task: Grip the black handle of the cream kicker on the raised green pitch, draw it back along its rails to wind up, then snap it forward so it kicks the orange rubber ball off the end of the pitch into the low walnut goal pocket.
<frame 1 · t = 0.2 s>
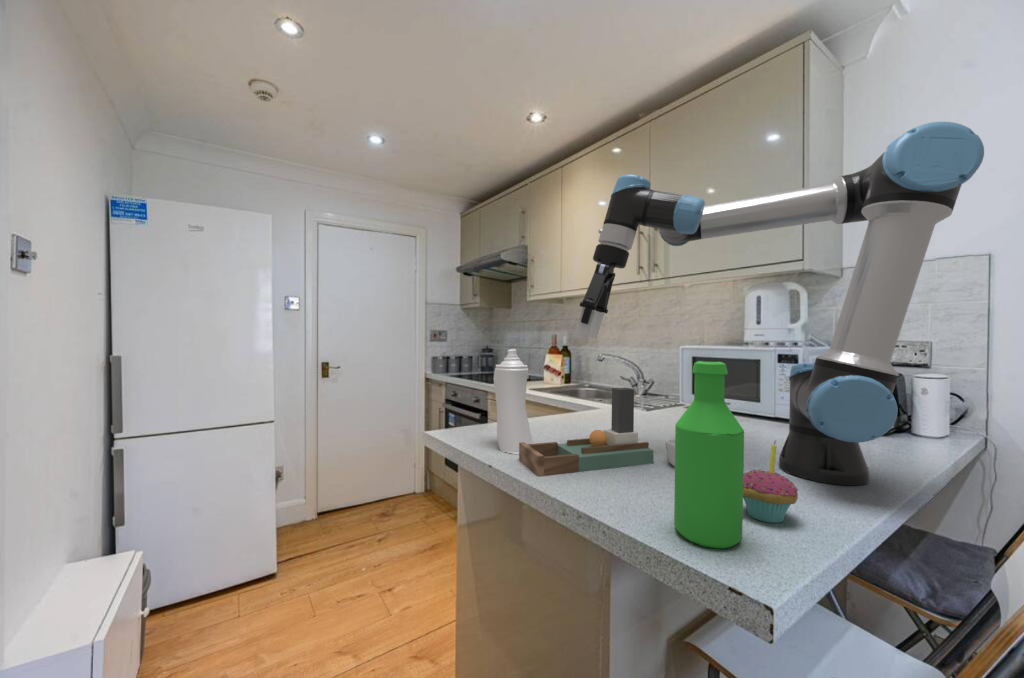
hand: (585, 337, 95), 28 cm above the countertop, tool tilted 15°, fingers open, 13 cm apart
ball: (598, 438, 94), point 5 cm above the countertop, touching pitch
pitch: (603, 459, 94), on the countertop
teacup: (689, 468, 90), on the countertop
goal: (550, 465, 90), on the countertop
kicker: (620, 416, 96), point 10 cm above the countertop, slide at 2.0 cm
bottle: (707, 537, 59), on the countertop
cupcake: (766, 518, 65), on the countertop
rails: (607, 459, 95), resting on pitch
spray can: (512, 448, 104), on the countertop
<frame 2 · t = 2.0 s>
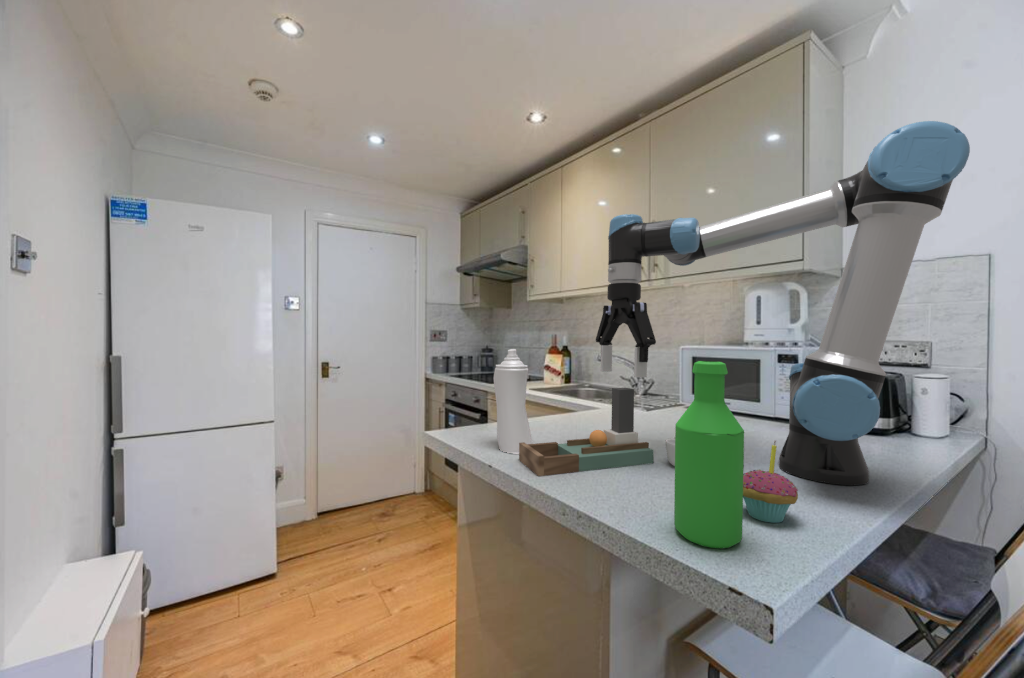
hand: (622, 374, 96), 20 cm above the countertop, tool pointing down, fingers open, 13 cm apart
nothing on the countertop moved.
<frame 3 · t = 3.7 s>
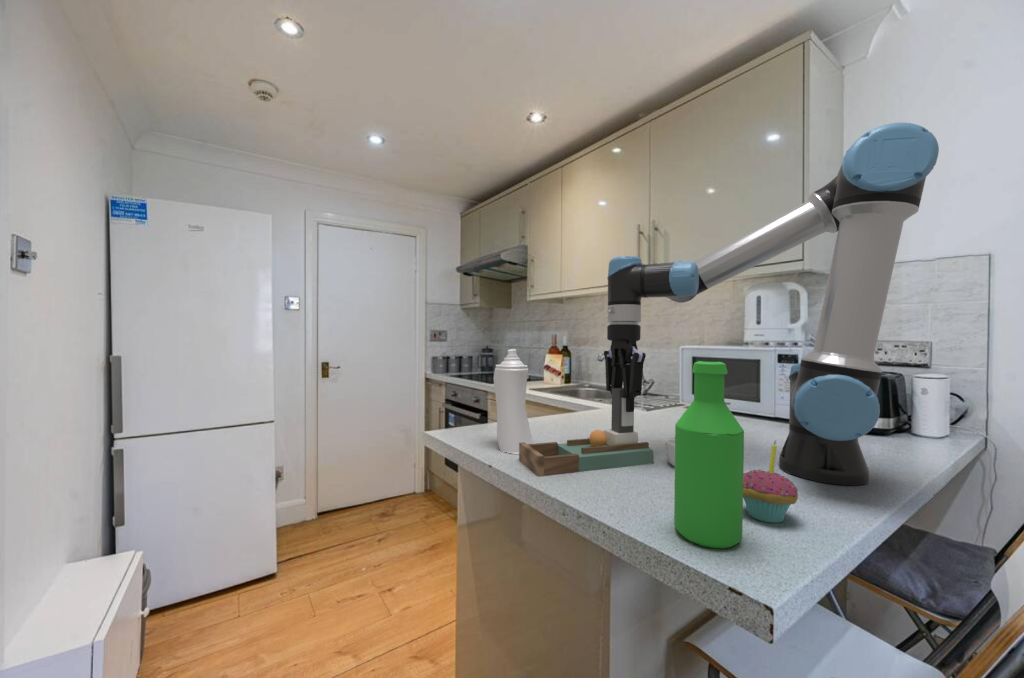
hand: (622, 423, 96), 8 cm above the countertop, tool pointing down, fingers closed on kicker, 3 cm apart
kicker: (620, 416, 96), point 10 cm above the countertop, slide at 2.0 cm, touching gripper
everything else where it was.
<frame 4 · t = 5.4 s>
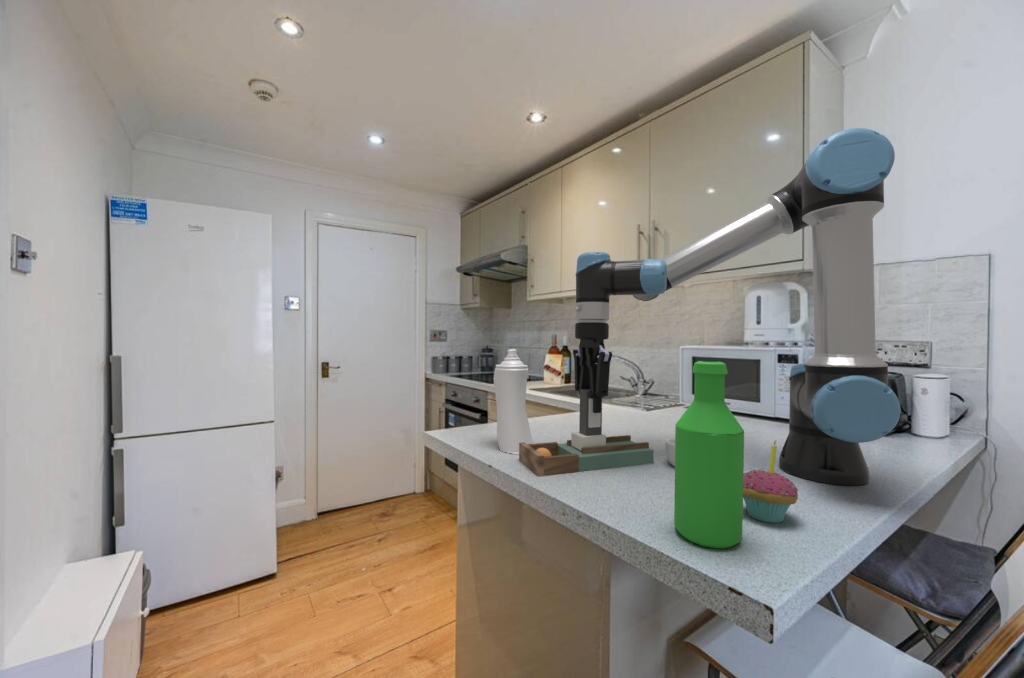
hand: (590, 424, 93), 8 cm above the countertop, tool pointing down, fingers closed on kicker, 3 cm apart
ball: (542, 457, 89), point 2 cm above the countertop, tilted 12°
kicker: (588, 418, 93), point 10 cm above the countertop, slide at 10.5 cm, touching gripper
everything else where it was.
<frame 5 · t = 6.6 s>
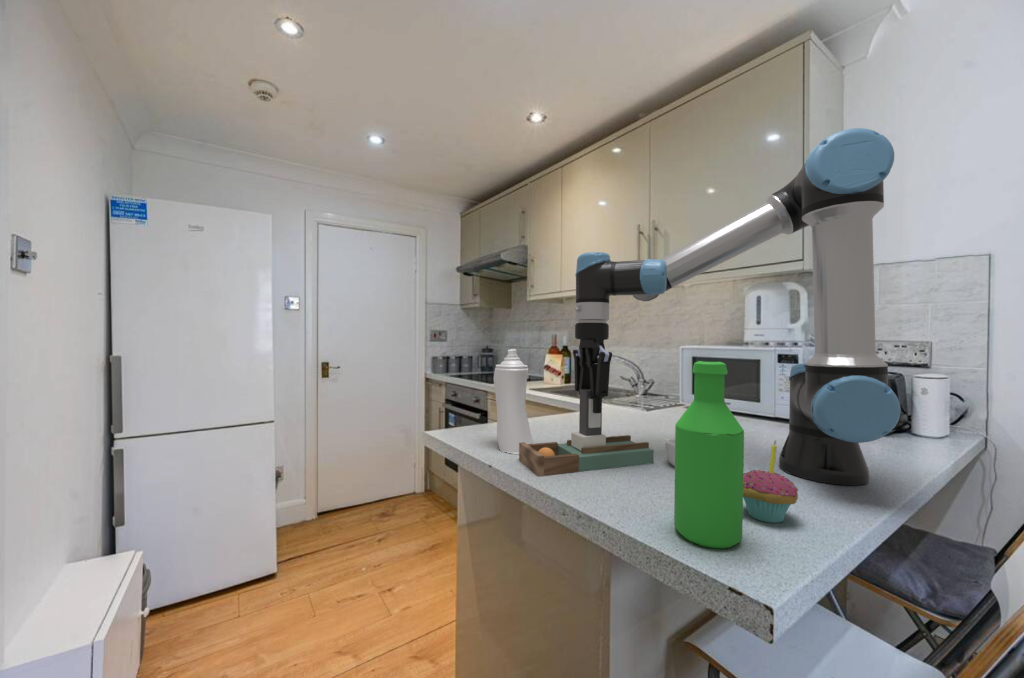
hand: (590, 425, 93), 8 cm above the countertop, tool pointing down, fingers open, 3 cm apart
kicker: (588, 418, 93), point 10 cm above the countertop, slide at 10.6 cm
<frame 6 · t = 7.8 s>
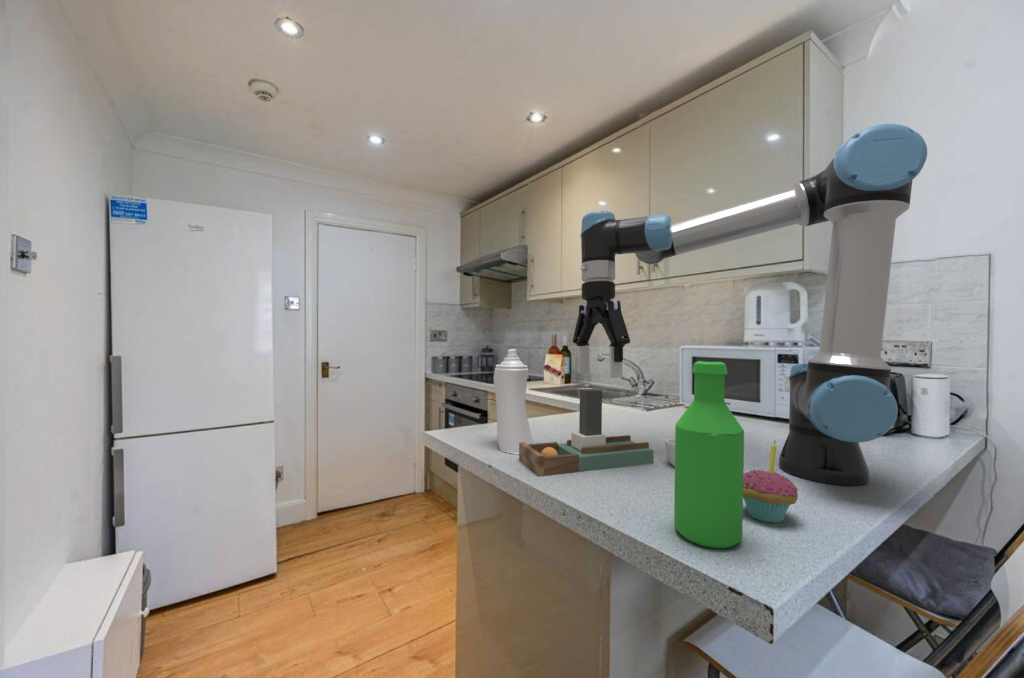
hand: (598, 375, 93), 20 cm above the countertop, tool pointing down, fingers open, 13 cm apart
ball: (549, 456, 90), point 2 cm above the countertop, tilted 35°
everything else where it was.
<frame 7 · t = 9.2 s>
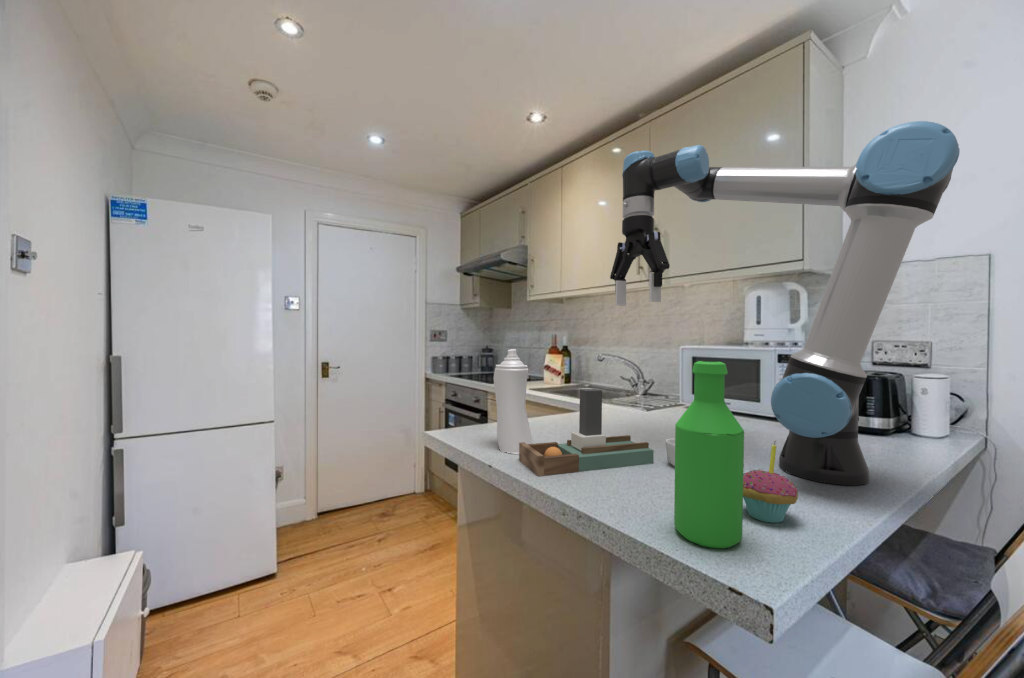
hand: (636, 303, 102), 37 cm above the countertop, tool pointing down, fingers open, 13 cm apart
ball: (553, 456, 90), point 2 cm above the countertop, tilted 63°
everything else where it was.
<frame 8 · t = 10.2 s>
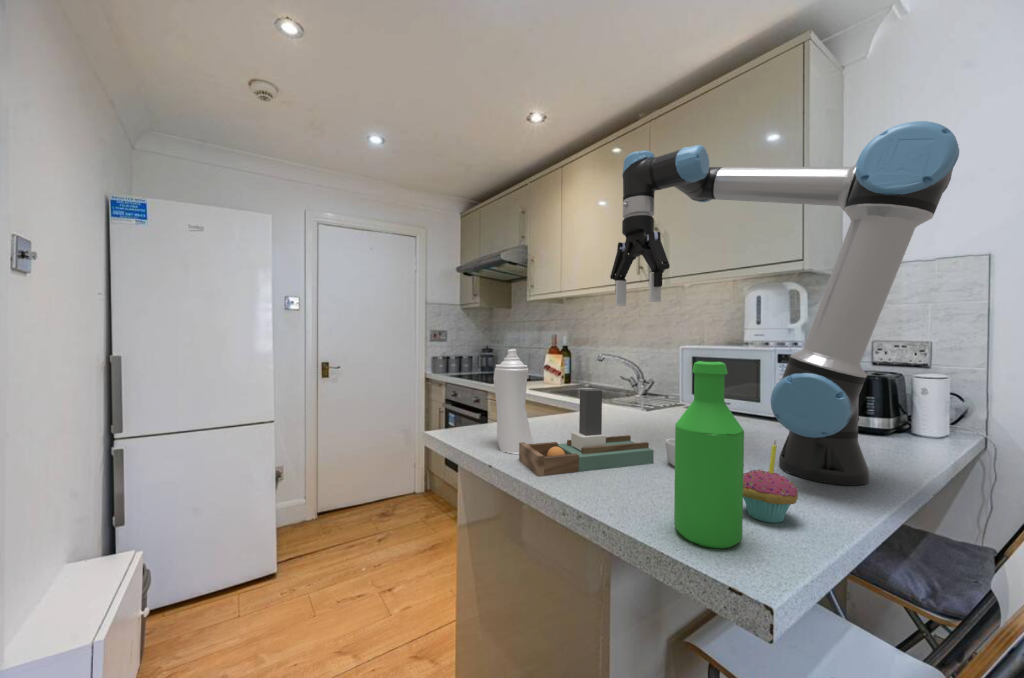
hand: (636, 303, 102), 37 cm above the countertop, tool pointing down, fingers open, 13 cm apart
ball: (556, 455, 90), point 2 cm above the countertop, tilted 83°
everything else where it was.
at the end: ball inside the target area on the goal (1.4 cm from its centre), point 2.0 cm above the goal's base; kicker slide at 10.6 cm; the gripper is holding nothing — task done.
